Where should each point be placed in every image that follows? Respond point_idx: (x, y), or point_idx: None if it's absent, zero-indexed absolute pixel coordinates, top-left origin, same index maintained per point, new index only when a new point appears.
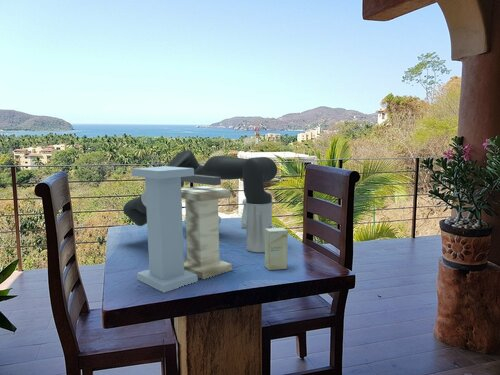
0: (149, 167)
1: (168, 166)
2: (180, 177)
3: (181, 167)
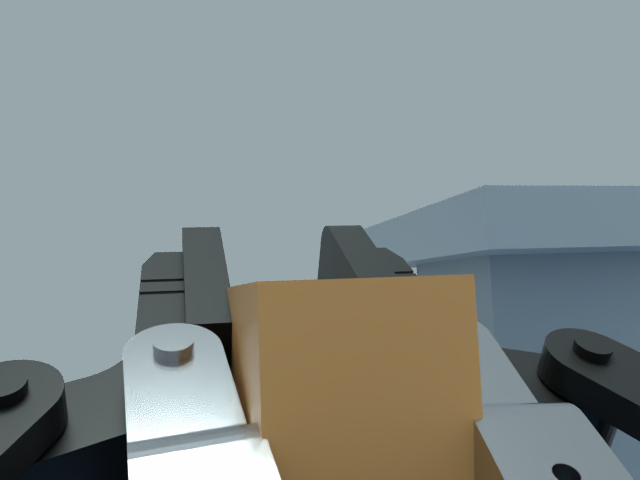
0: (630, 188)
1: (464, 193)
2: (418, 275)
3: (394, 219)
